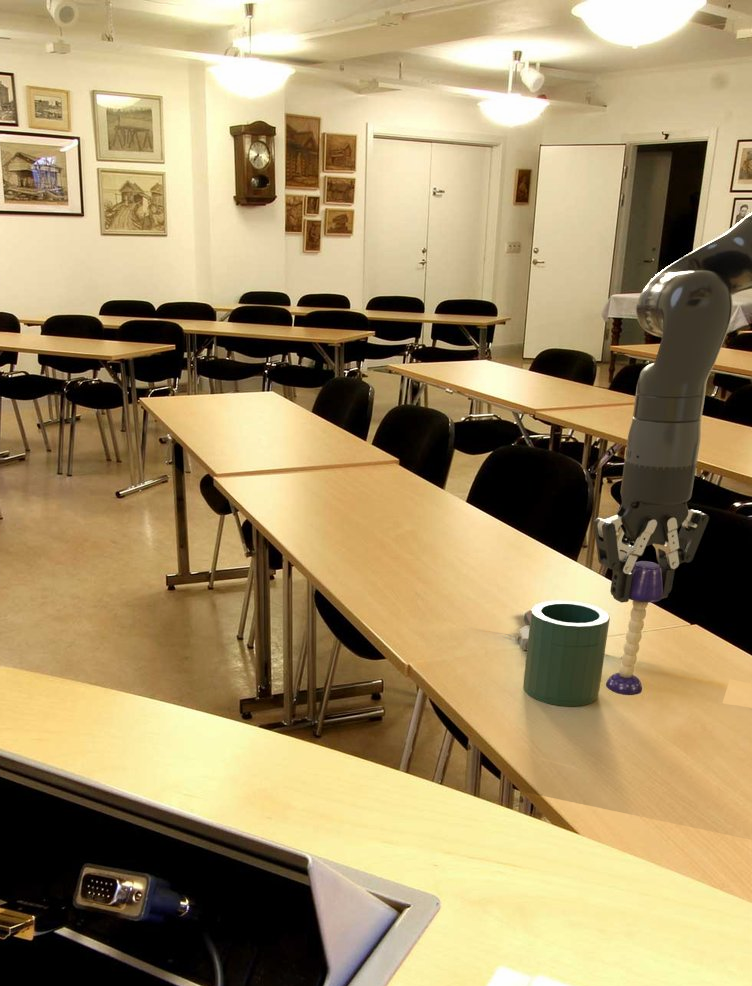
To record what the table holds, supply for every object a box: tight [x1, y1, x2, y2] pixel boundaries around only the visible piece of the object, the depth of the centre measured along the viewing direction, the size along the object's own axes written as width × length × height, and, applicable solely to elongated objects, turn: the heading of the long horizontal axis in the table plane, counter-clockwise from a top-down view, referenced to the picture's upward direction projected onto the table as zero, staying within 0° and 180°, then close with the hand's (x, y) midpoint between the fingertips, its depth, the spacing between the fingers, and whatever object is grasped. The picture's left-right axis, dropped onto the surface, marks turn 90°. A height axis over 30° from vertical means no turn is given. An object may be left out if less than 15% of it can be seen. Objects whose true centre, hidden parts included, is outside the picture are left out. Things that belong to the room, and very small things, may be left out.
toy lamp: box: [605, 560, 664, 696], centre depth 112 cm, size 5×5×17 cm
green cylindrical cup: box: [522, 600, 611, 707], centre depth 129 cm, size 10×10×12 cm
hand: (640, 597), depth 110 cm, fingers closed on toy lamp, 4 cm apart
